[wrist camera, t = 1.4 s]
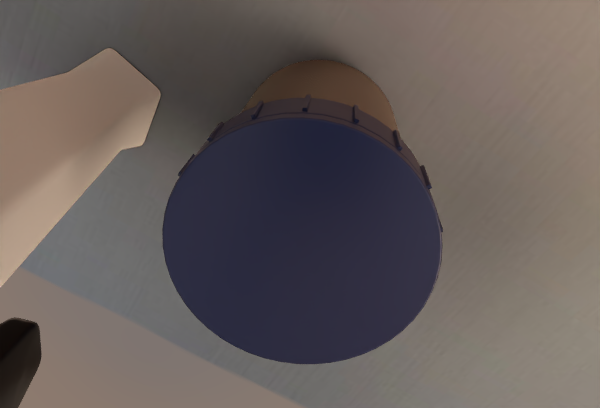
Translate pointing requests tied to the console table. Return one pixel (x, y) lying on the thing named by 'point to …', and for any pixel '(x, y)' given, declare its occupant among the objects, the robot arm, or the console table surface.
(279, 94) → the jar
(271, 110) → the jar lid
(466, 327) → the console table surface
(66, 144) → the white pentagonal vase
